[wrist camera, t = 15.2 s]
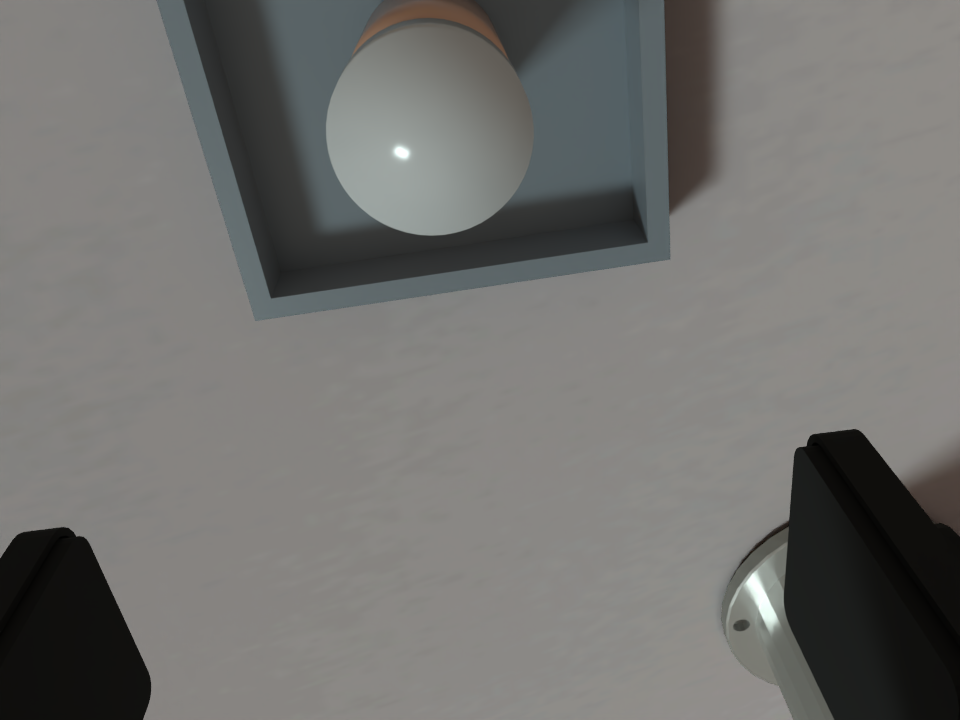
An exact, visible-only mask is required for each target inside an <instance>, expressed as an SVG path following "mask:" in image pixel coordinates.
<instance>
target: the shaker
mask: <svg viewBox="0 0 960 720" xmlns="http://www.w3.org/2000/svg"><path fill="white" fill-rule="evenodd" d="M326 140H327V147H328V153H329V156H330V160H331V164H332V166H333V169H334V171H335V173H336V176H337V178H338V179H339V181H340V183H341V185H342V186H343V188H344V189H345V191H346V192H347V193H348V195H349V196H350V197H351V199H352V200H353V201H354V202H355V203H356V204H357V205H358V206H359V207H360V208H361V209H362V210H364V211H365V212H366V213H367V214H369V215H370V216H371V217H373V218H374V219H376V220H378V221H379V222H381V223H383V224H385V225H387V226H389V227H391V228H394V229H397V230H400V231H403V232H406V233H412V234H417V235H430V236H434V235H446V234H451V233H457V232H460V231H463V230H466V229H469V228H471V227H474V226H476V225H478V224H480V223H482V222H483V221H485V220H487V219H488V218H490V217H491V216H493V215H494V214H495V213H496V212H497V211H499V210H500V209H501V208H502V207H503V206H504V205H505V204H506V203H507V202H508V201H509V200H510V199H511V197H512V196H513V194H514V193H515V192H516V190H517V189H518V187H519V185H520V184H521V182H522V180H523V178H524V176H525V174H526V171H527V168H528V166H529V163H530V159H531V155H532V149H533V140H534V125H533V118H532V111H531V108H530V104H529V101H528V98H527V95H526V93H525V91H524V88H523V86H522V84H521V82H520V79H519V77H518V75H517V73H516V71H515V69H514V67H513V66H512V64H511V62H510V61H509V59H508V57H507V55H506V52H505V50H504V48H503V45H502V43H501V41H500V38H499V36H498V34H497V32H496V29H495V27H494V25H493V23H492V21H491V19H490V18H489V16H488V15H487V13H486V12H485V11H484V10H483V8H482V7H481V6H480V5H479V4H478V3H477V2H476V1H475V0H384V1H383V2H382V3H381V4H380V5H378V6H377V8H376V9H375V10H374V12H373V13H372V14H371V16H370V18H369V19H368V21H367V23H366V25H365V27H364V29H363V32H362V34H361V36H360V38H359V41H358V43H357V45H356V47H355V50H354V52H353V54H352V56H351V58H350V59H349V61H348V63H347V64H346V66H345V68H344V70H343V71H342V74H341V76H340V78H339V80H338V82H337V85H336V87H335V89H334V92H333V94H332V97H331V100H330V104H329V108H328V113H327V121H326Z"/></svg>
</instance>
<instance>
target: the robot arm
mask: <svg viewBox="0 0 960 720" xmlns="http://www.w3.org/2000/svg"><path fill="white" fill-rule="evenodd" d="M721 621H722V626H723V631H724V635H725V637H726V639H727V642H728V644H729V646H730V649H731V652H732V653H733V655H734V656H735V657H736V659H737V660H738V662H739V663H740V664H741V665H742V666H743V667H744V668H745V669H747V670H748V671H749V672H750V673H751V674H753V675H754V676H756V677H758V678H760V679H762V680H764V681H766V682H768V683H771V684H774V685H777V686H779V688H780V690H781V692H782V695H783V697H784V699H785V701H786V704H787V706H788V708H789V711H790V713H791V715H792V718H793V720H960V537H959V536H958V535H957V534H956V533H955V532H954V531H953V530H952V529H951V528H950V527H948V526H946V525H944V524H942V523H938V524H936V523H935V522H933V521H932V520H931V519H930V518H929V517H928V515H927V514H926V513H925V512H924V510H923V509H922V508H921V506H920V505H919V504H918V503H917V501H916V500H915V499H914V498H913V496H912V495H911V494H910V493H909V491H908V490H907V489H906V487H905V486H904V485H903V484H902V482H901V481H900V480H899V479H898V477H897V476H896V475H895V473H894V472H893V471H892V470H891V468H890V467H889V466H888V465H887V463H886V462H885V461H884V460H883V458H882V457H881V456H880V454H879V453H878V452H877V451H876V449H875V448H874V447H873V446H872V444H871V443H870V442H869V441H868V439H867V438H866V437H865V435H864V434H863V433H862V432H860V431H859V430H856V429H852V430H844V431H836V432H828V433H820V434H813V435H811V436H810V437H809V439H808V442H807V446H806V447H799V448H797V449H796V451H795V455H794V465H793V478H792V491H791V505H790V518H789V527H787V528H786V529H784V530H782V531H781V532H779V533H777V534H776V535H774V536H772V537H771V538H769V539H768V540H767V541H766V542H765V543H763V544H762V545H761V546H760V547H758V548H757V549H756V550H755V551H754V552H752V553H751V555H750V556H749V557H748V558H747V559H746V560H745V561H744V563H743V564H742V565H741V566H740V567H739V568H738V570H737V571H736V573H735V575H734V576H733V578H732V580H731V581H730V583H729V585H728V587H727V590H726V593H725V596H724V599H723V602H722V613H721ZM150 695H151V680H150V675H149V672H148V670H147V668H146V666H145V663H144V661H143V659H142V657H141V655H140V653H139V650H138V648H137V646H136V644H135V642H134V640H133V637H132V635H131V633H130V631H129V629H128V627H127V624H126V622H125V620H124V618H123V616H122V613H121V611H120V609H119V607H118V605H117V603H116V600H115V598H114V596H113V594H112V592H111V590H110V587H109V585H108V583H107V581H106V579H105V577H104V574H103V572H102V570H101V568H100V566H99V563H98V561H97V559H96V557H95V555H94V553H93V550H92V548H91V546H90V544H89V542H88V541H87V539H85V538H84V537H81V536H78V537H76V535H75V534H74V532H73V531H72V530H70V529H69V528H65V527H61V528H53V529H45V530H37V531H28V532H23V533H20V534H18V535H17V536H16V537H15V538H14V539H13V540H12V542H11V543H10V545H9V546H8V548H7V549H6V551H5V552H4V554H3V555H2V557H1V558H0V720H143V718H144V715H145V712H146V710H147V707H148V704H149V700H150Z"/></svg>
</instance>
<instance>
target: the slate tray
mask: <svg viewBox="0 0 960 720" xmlns="http://www.w3.org/2000/svg"><path fill="white" fill-rule="evenodd" d="M383 1H384V0H157V3H158V7H159V10H160V13H161V16H162V20H163V23H164V26H165V29H166V33H167V36H168V39H169V42H170V46H171V49H172V52H173V55H174V59H175V62H176V65H177V68H178V71H179V75H180V78H181V81H182V84H183V88H184V91H185V94H186V97H187V101H188V104H189V107H190V110H191V114H192V117H193V120H194V123H195V127H196V130H197V133H198V136H199V140H200V143H201V146H202V149H203V153H204V156H205V159H206V162H207V166H208V169H209V172H210V175H211V178H212V182H213V185H214V188H215V191H216V195H217V198H218V201H219V204H220V208H221V211H222V214H223V217H224V221H225V224H226V227H227V230H228V234H229V237H230V240H231V243H232V247H233V250H234V253H235V256H236V260H237V263H238V266H239V269H240V273H241V276H242V279H243V282H244V285H245V289H246V292H247V295H248V298H249V302H250V305H251V308H252V311H253V315H254V318H255V321H258V320H265V319H272V318H278V317H285V316H292V315H299V314H305V313H312V312H319V311H326V310H332V309H339V308H346V307H353V306H359V305H366V304H373V303H379V302H386V301H393V300H400V299H406V298H413V297H420V296H427V295H433V294H440V293H447V292H454V291H460V290H467V289H474V288H481V287H487V286H494V285H501V284H508V283H514V282H521V281H528V280H535V279H541V278H548V277H555V276H562V275H568V274H575V273H582V272H588V271H595V270H602V269H609V268H615V267H622V266H629V265H636V264H642V263H649V262H656V261H663V260H669V259H670V227H669V185H668V143H667V101H666V60H665V18H664V0H475V1H476V2H477V3H478V4H479V5H480V6H481V7H482V8H483V10H484V11H485V12H486V13H487V15H488V16H489V18H490V19H491V21H492V23H493V25H494V27H495V29H496V32H497V34H498V36H499V38H500V41H501V43H502V45H503V48H504V50H505V52H506V55H507V57H508V59H509V61H510V62H511V64H512V66H513V67H514V69H515V71H516V73H517V75H518V77H519V79H520V82H521V84H522V86H523V88H524V91H525V93H526V95H527V98H528V101H529V104H530V108H531V111H532V118H533V125H534V140H533V149H532V155H531V159H530V163H529V166H528V168H527V171H526V174H525V176H524V178H523V180H522V182H521V184H520V185H519V187H518V189H517V190H516V192H515V193H514V194H513V196H512V197H511V199H510V200H509V201H508V202H507V203H506V204H505V205H504V206H503V207H502V208H501V209H500V210H499V211H497V212H496V213H495V214H494V215H493V216H491V217H490V218H488V219H487V220H485V221H483V222H482V223H480V224H478V225H476V226H474V227H471V228H469V229H466V230H463V231H460V232H457V233H451V234H446V235H434V236H430V235H417V234H412V233H406V232H403V231H400V230H397V229H394V228H391V227H389V226H387V225H385V224H383V223H381V222H379V221H378V220H376V219H374V218H373V217H371V216H370V215H369V214H367V213H366V212H365V211H364V210H362V209H361V208H360V207H359V206H358V205H357V204H356V203H355V202H354V201H353V200H352V199H351V197H350V196H349V195H348V193H347V192H346V191H345V189H344V188H343V186H342V185H341V183H340V181H339V179H338V178H337V176H336V173H335V171H334V169H333V166H332V164H331V160H330V156H329V153H328V147H327V140H326V121H327V113H328V108H329V104H330V100H331V97H332V94H333V92H334V89H335V87H336V85H337V82H338V80H339V78H340V76H341V74H342V71H343V70H344V68H345V66H346V64H347V63H348V61H349V59H350V58H351V56H352V54H353V52H354V50H355V47H356V45H357V43H358V41H359V38H360V36H361V34H362V32H363V29H364V27H365V25H366V23H367V21H368V19H369V18H370V16H371V14H372V13H373V12H374V10H375V9H376V8H377V6H378V5H380V4H381V3H382V2H383Z"/></svg>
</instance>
